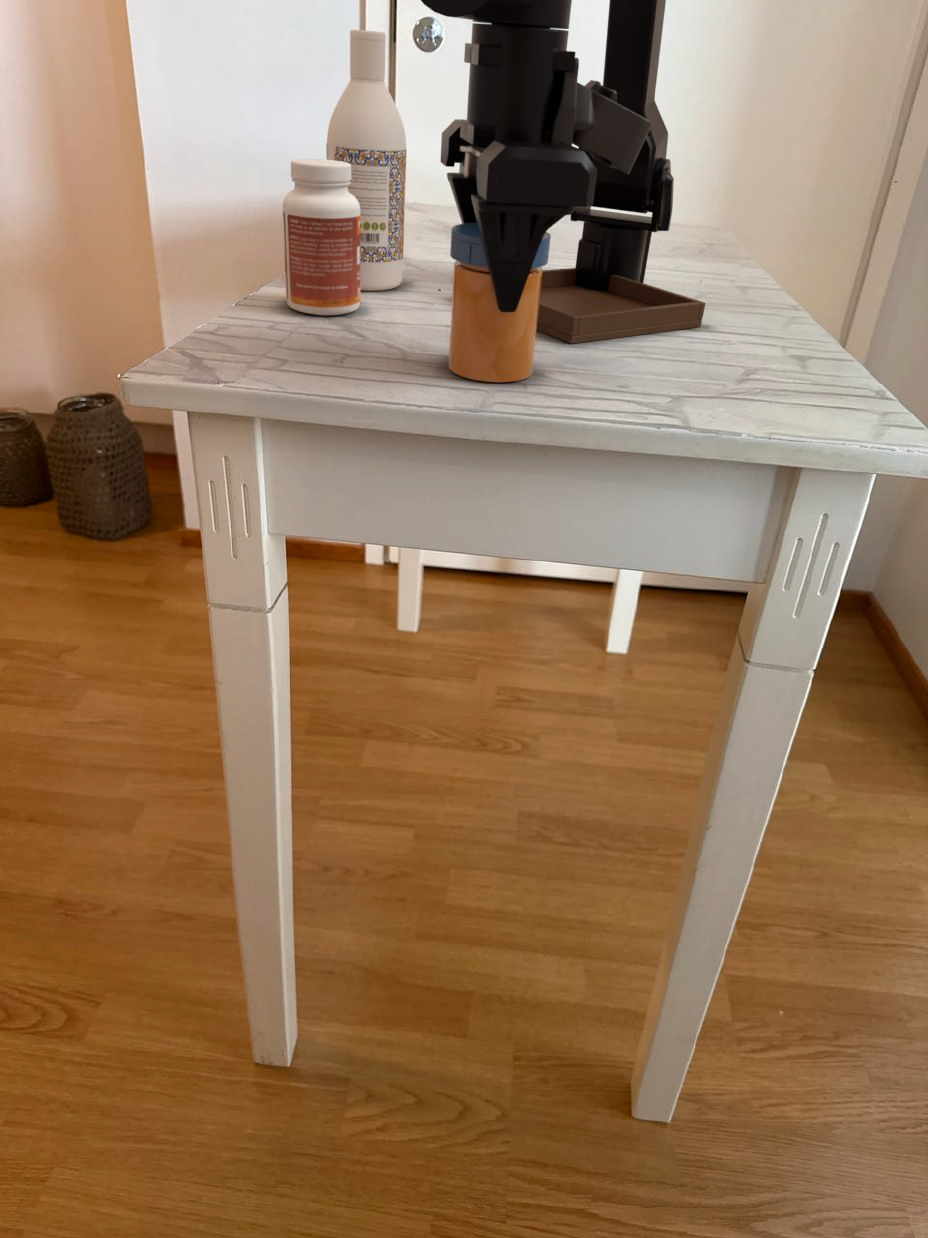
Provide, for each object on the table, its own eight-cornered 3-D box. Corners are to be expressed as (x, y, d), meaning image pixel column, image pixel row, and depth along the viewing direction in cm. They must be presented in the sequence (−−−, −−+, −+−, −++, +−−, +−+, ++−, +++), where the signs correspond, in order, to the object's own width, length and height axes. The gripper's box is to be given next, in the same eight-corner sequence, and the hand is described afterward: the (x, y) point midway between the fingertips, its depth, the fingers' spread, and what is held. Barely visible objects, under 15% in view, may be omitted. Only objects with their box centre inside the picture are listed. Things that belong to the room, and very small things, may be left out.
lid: (509, 273, 56) (512, 244, 55) (429, 255, 59) (430, 228, 58) (566, 261, 60) (569, 234, 60) (489, 245, 64) (490, 219, 63)
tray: (587, 288, 89) (590, 266, 88) (701, 326, 79) (706, 302, 78) (462, 299, 82) (464, 275, 80) (570, 343, 71) (574, 317, 70)
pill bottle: (373, 313, 75) (375, 166, 69) (306, 319, 72) (302, 166, 66) (339, 296, 79) (338, 156, 73) (274, 301, 76) (268, 156, 70)
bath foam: (413, 290, 83) (423, 34, 73) (343, 293, 80) (342, 27, 70) (386, 274, 88) (391, 33, 78) (318, 276, 86) (314, 26, 75)
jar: (492, 351, 67) (501, 232, 63) (549, 373, 64) (563, 248, 59) (431, 364, 64) (436, 238, 59) (488, 387, 60) (498, 255, 56)
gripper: (710, 38, 47) (655, 340, 55) (604, 36, 62) (574, 272, 70) (501, 21, 45) (477, 337, 53) (445, 23, 60) (434, 268, 68)
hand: (497, 299), depth 61 cm, fingers closed on jar, lid, 6 cm apart
